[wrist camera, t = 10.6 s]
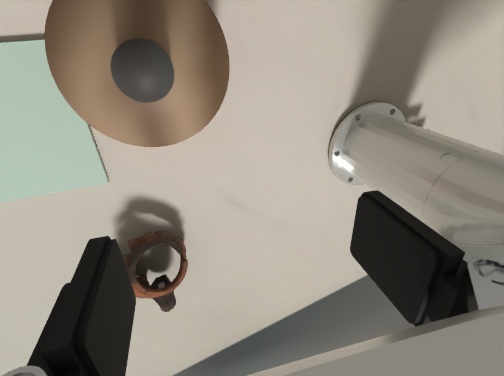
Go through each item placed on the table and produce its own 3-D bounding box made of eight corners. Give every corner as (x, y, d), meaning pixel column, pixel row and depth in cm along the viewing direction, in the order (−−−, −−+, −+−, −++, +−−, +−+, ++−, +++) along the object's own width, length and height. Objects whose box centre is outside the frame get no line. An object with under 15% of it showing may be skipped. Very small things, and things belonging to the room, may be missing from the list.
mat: (57, 38, 26) (55, 38, 25) (109, 181, 33) (108, 182, 33) (-148, 53, 22) (-154, 53, 22) (-40, 207, 30) (-43, 210, 29)
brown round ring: (94, 248, 37) (104, 262, 30) (157, 211, 42) (177, 217, 35) (138, 314, 41) (155, 341, 34) (191, 273, 46) (216, 290, 39)
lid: (216, -42, 22) (233, -66, 17) (234, 131, 28) (250, 151, 24) (11, -38, 19) (-42, -65, 14) (87, 155, 25) (70, 183, 21)
